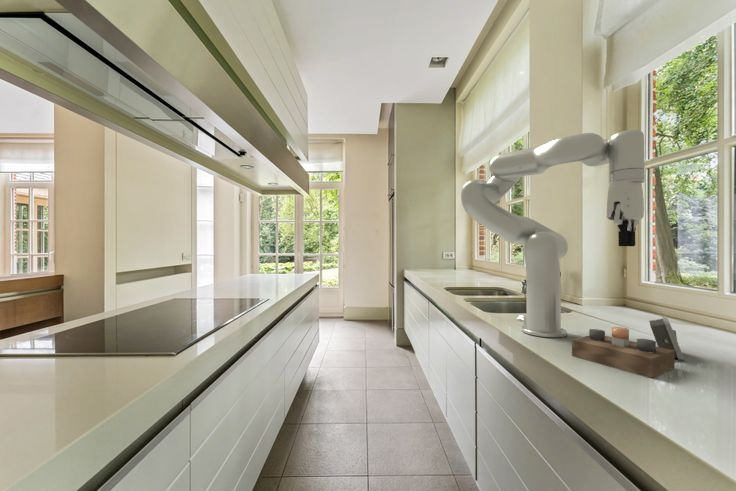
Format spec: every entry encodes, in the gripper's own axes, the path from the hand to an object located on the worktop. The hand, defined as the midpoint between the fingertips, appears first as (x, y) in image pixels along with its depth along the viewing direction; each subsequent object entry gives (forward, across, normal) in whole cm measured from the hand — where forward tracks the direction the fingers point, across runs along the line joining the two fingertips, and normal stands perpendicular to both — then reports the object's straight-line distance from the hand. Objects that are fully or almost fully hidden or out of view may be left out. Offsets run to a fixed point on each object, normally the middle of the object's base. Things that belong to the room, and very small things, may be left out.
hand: (626, 246), depth 89 cm
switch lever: (+27, +15, 0) cm, 31 cm away
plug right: (+27, +15, +10) cm, 32 cm away
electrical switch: (+27, -1, +8) cm, 29 cm away
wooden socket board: (+27, +15, +5) cm, 31 cm away
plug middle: (+25, +15, +5) cm, 30 cm away
